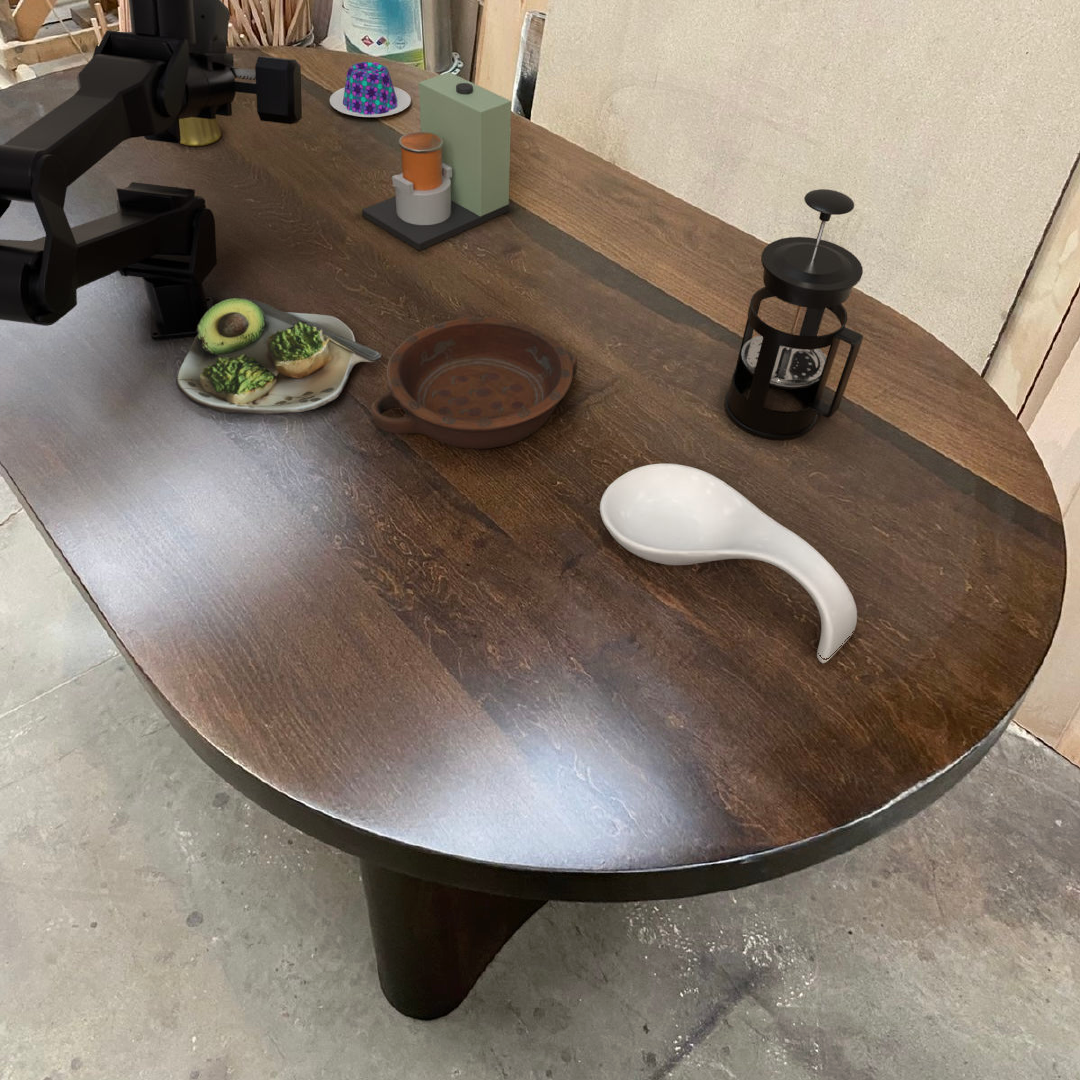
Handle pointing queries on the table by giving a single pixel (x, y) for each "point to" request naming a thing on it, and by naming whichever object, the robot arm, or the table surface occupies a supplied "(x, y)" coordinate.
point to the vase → (198, 131)
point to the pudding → (369, 92)
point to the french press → (794, 360)
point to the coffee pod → (422, 159)
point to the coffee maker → (454, 165)
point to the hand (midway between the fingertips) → (244, 79)
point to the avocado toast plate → (268, 359)
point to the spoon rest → (720, 536)
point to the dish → (475, 382)
